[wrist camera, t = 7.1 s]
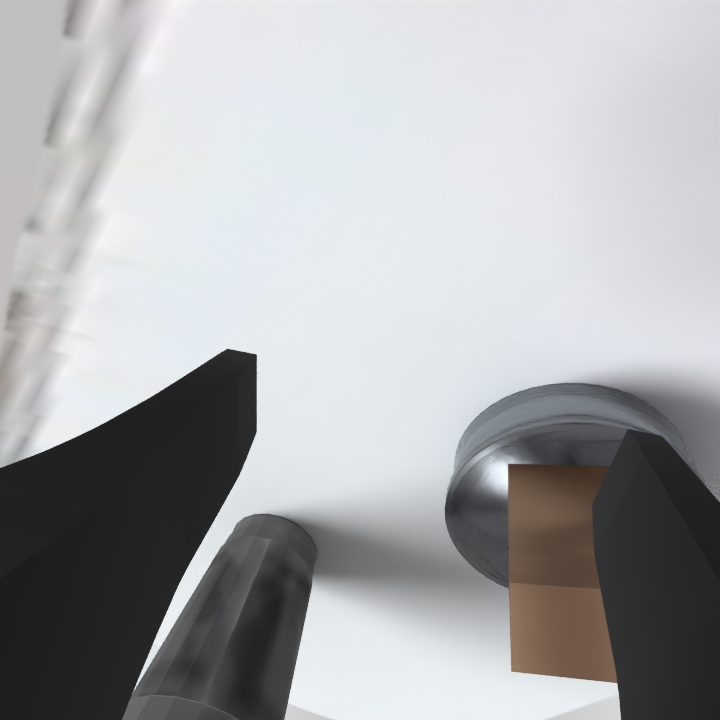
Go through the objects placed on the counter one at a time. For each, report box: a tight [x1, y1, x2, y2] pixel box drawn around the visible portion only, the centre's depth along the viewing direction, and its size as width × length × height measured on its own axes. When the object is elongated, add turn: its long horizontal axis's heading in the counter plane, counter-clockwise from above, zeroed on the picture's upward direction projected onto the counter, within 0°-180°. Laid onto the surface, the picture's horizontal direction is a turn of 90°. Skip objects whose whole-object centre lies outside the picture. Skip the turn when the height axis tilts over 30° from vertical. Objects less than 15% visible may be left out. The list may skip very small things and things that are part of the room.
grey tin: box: [445, 383, 706, 588], centre depth 23 cm, size 9×9×3 cm
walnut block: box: [508, 464, 617, 683], centre depth 20 cm, size 4×4×5 cm
